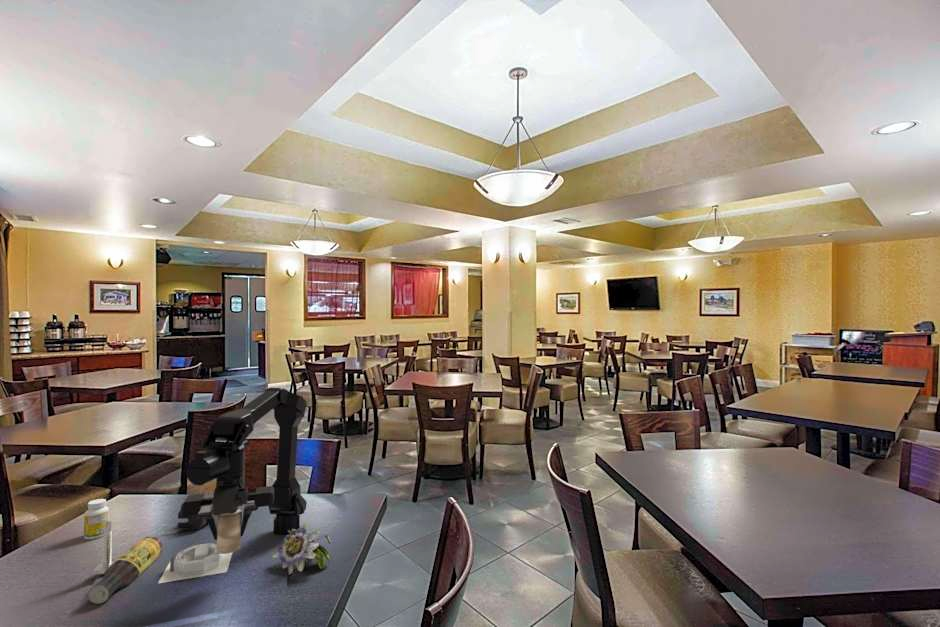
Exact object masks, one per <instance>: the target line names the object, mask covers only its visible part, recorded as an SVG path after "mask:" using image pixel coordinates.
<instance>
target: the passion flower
mask: <svg viewBox="0 0 940 627" xmlns="http://www.w3.org/2000/svg"><path fill="white" fill-rule="evenodd" d="M308 527H309V526H308V523H307V522H305V523H303V524H302V526H300V529H299V528H298V529H297V530H295V529H292V532H290V531H289V530H288V532H289V535H285V537H283V539H282V540H281V541H282V542H283V544H281V545H280V546H278V549H277V551H275V552H274V553H272V555H271V557H272V558H273V559H279V560H280V561H281V562H282V565H281V569H287V574H286V575H287V576H290V575H292V574H293V573H294V572H295V569H297V571H298V572H300V573H302V571H303V570H304V569H305V566H306V560H307V559H308V560H313V559H315V561H316V564H317V565H318V568H319V569H320V570H321V569H322V570H324V569H325V566H326V562H325V561H326V560H327V562H328V563H330V553H329V551H328V549H327V548H326V547H325V546H323V545H321V544H320V543H318V542H317V541H319V540H321V539H323V538H324V537H325V538H326V539H327V541H328V544H329V545H330V544H331V543H332V541H331V539H330V537H329V535H328V534H326V535H323V536H321V537H319V535H320V531H317V530H316V531H314V532H311V533H309V532H308ZM318 537H319V538H318ZM315 539H316V540H315ZM325 558H326V560H325Z"/></svg>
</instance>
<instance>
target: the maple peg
mask: <svg viewBox="0 0 940 627" xmlns="http://www.w3.org/2000/svg"><path fill="white" fill-rule="evenodd" d="M217 520H218V521H217V540H216V545H217V553H220V554H228V553H232V552H233V553H234V552H236V551H239V550H240V549H241V547H242V536H241V527H242V520H243V510H241V509H239V508H238V510H237V511H236V512H235V513H233V514H229V513H227V514H220V515H217ZM233 553H232V554H233Z"/></svg>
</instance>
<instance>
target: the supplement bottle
mask: <svg viewBox="0 0 940 627" xmlns="http://www.w3.org/2000/svg"><path fill="white" fill-rule="evenodd" d="M87 508H88V509H87V510H86V511H84V518H83V538H84V539H86V540H96V539H99V537H100V538H103V536H104V535H103V534H104V523H105V522H107V521H110V519H109V516H110V511H109V510H110V509H109V507H108V506H107V499H106V498H98V499H93V500H89V502H87ZM95 538H96V539H95Z"/></svg>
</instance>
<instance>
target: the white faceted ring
mask: <svg viewBox="0 0 940 627" xmlns="http://www.w3.org/2000/svg"><path fill="white" fill-rule="evenodd" d="M221 557H222V554H220V553H217V543H216V544H215V543H212V542H209V543H203V544H202V543H201V544H195V545H192V546H189V547H187V548H186V549H185V548H184V549H182V550H181V551H179V552H178V553H177V554H174V555H171V557H170V559H169V560H170V561H169V563H170V572H172V571H174V574H177V575H180V576H182V577H189V576H195V575H201V574H205V573H206V572H208V571H210V570H212V569H214V568H216V567H218V566H219V563H220V560H221ZM200 558H204V559H201V560H194V559H200ZM192 560H194V561H192Z"/></svg>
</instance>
